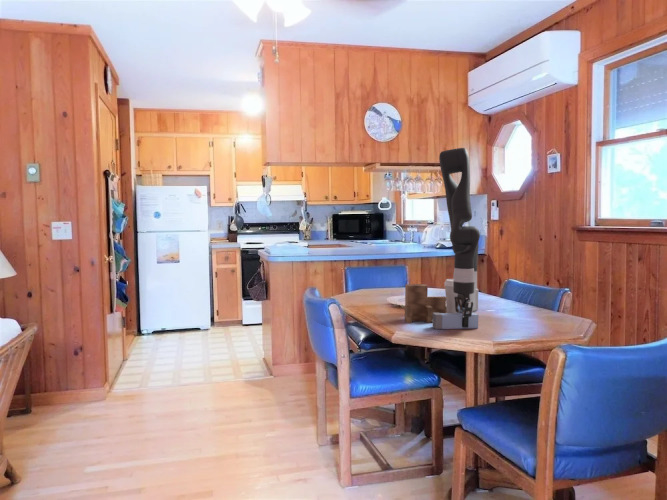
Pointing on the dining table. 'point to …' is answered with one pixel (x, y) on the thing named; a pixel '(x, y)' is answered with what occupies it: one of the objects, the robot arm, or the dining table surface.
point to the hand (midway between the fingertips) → (463, 325)
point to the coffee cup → (450, 296)
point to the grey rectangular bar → (453, 321)
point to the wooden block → (421, 304)
